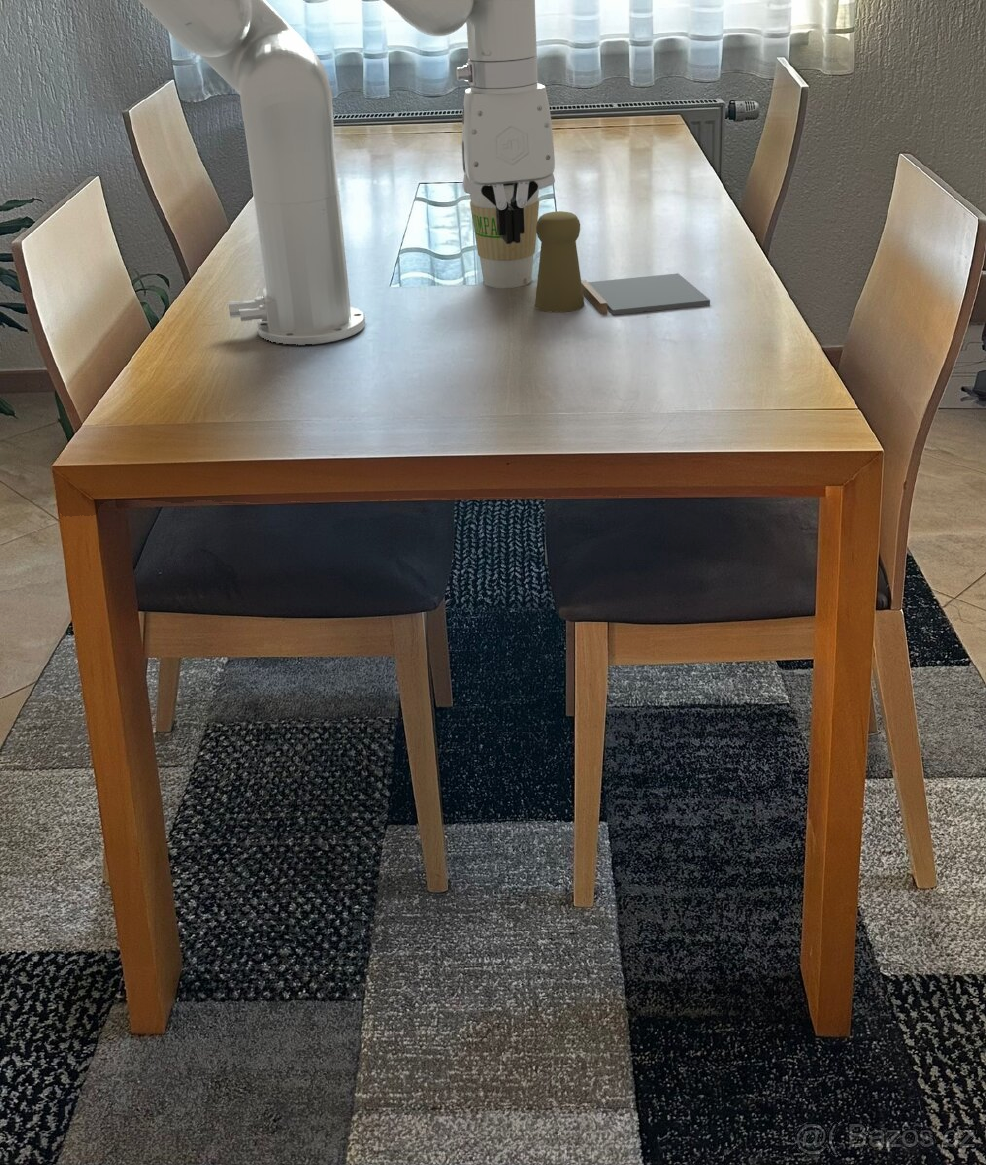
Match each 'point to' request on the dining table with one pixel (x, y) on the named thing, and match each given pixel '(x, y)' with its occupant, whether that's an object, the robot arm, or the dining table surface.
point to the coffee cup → (496, 257)
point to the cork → (558, 263)
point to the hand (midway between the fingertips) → (511, 240)
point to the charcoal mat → (649, 293)
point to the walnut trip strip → (594, 297)
